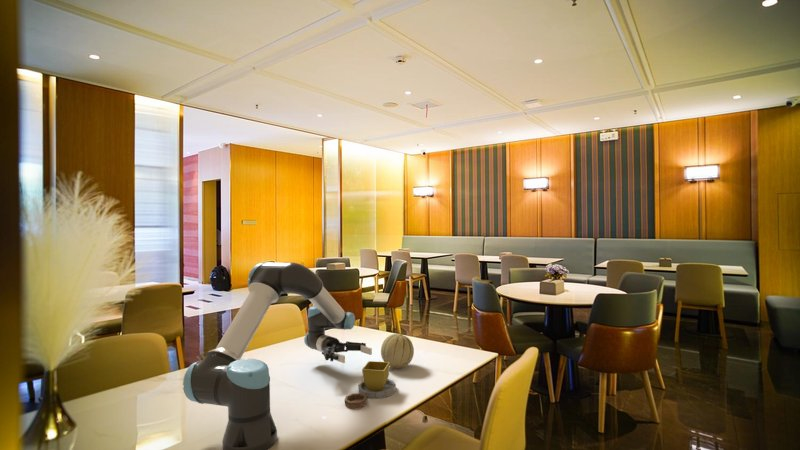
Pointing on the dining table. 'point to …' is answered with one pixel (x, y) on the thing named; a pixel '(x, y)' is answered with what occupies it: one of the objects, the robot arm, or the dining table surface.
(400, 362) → the cantaloupe
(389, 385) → the grey saucer
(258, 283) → the robot arm
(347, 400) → the brown octagonal saucer
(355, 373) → the dining table surface
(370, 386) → the flower pot
